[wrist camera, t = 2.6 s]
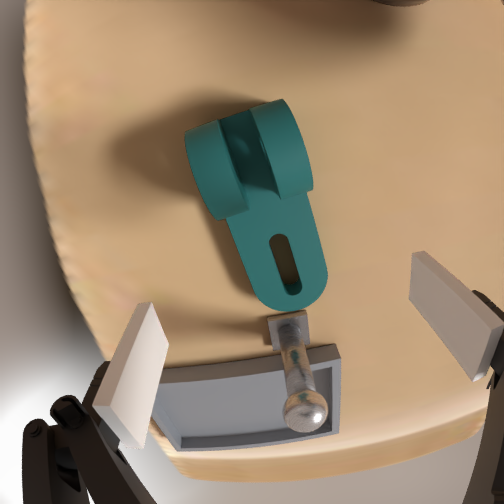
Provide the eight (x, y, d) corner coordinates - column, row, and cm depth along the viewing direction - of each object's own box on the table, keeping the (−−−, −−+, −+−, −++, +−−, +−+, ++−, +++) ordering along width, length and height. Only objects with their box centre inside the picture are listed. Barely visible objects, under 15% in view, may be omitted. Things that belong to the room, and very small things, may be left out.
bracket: (196, 129, 24) (176, 132, 17) (274, 103, 23) (288, 94, 16) (263, 306, 31) (269, 360, 24) (328, 286, 30) (351, 335, 23)
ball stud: (266, 317, 31) (278, 419, 19) (305, 310, 31) (334, 409, 19) (272, 345, 33) (284, 445, 21) (308, 339, 32) (334, 435, 21)
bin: (136, 370, 34) (131, 384, 32) (335, 343, 33) (341, 358, 31) (178, 438, 40) (176, 451, 38) (335, 420, 39) (339, 433, 37)
